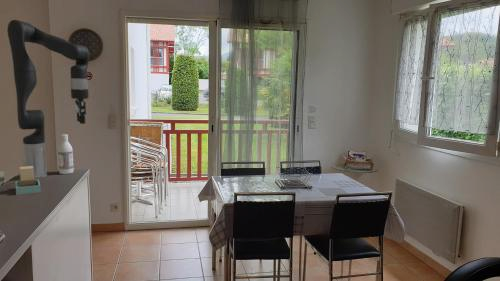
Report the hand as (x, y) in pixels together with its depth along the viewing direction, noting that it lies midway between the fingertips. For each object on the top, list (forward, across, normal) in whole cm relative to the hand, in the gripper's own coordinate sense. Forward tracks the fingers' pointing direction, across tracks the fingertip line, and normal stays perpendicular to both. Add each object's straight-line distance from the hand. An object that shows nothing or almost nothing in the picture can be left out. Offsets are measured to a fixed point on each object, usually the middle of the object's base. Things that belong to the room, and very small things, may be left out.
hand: (81, 122), depth 183 cm
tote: (+28, +10, -24) cm, 38 cm away
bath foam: (+28, -18, -6) cm, 34 cm away
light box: (+22, +10, -24) cm, 34 cm away
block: (+28, +10, -24) cm, 38 cm away
